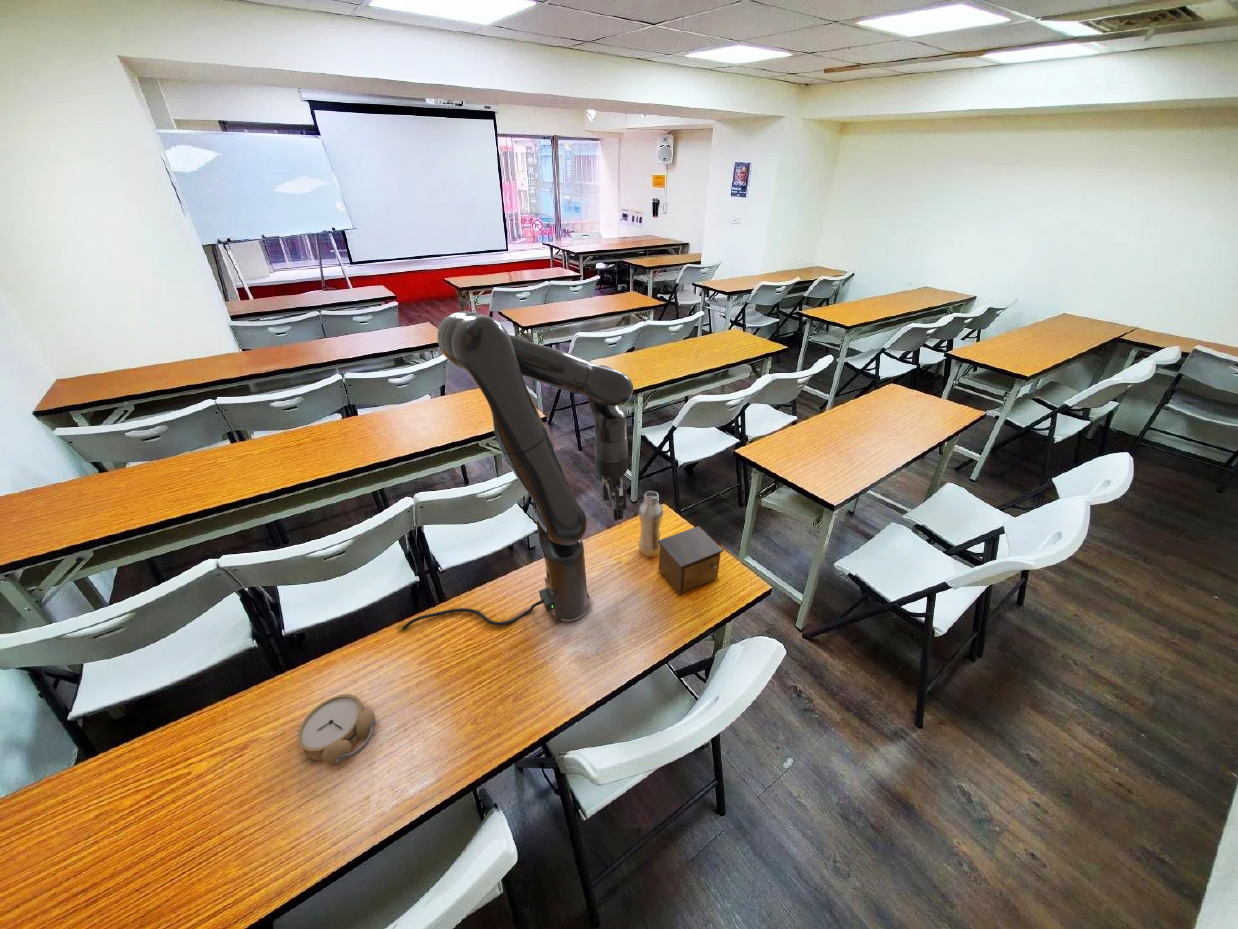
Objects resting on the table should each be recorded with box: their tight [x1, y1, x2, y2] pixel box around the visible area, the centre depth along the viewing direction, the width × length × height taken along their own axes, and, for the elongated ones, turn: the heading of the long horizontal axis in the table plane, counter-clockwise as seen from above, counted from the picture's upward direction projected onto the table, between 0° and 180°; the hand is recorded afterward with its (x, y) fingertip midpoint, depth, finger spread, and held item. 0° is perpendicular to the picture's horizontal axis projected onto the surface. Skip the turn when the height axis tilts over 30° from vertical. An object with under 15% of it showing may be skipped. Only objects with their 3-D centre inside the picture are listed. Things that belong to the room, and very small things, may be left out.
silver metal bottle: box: [637, 490, 664, 558], centre depth 129 cm, size 6×7×20 cm
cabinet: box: [658, 525, 724, 596], centre depth 122 cm, size 13×12×11 cm
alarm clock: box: [296, 693, 377, 766], centre depth 90 cm, size 11×5×15 cm
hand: (612, 509), depth 116 cm, fingers open, 8 cm apart
